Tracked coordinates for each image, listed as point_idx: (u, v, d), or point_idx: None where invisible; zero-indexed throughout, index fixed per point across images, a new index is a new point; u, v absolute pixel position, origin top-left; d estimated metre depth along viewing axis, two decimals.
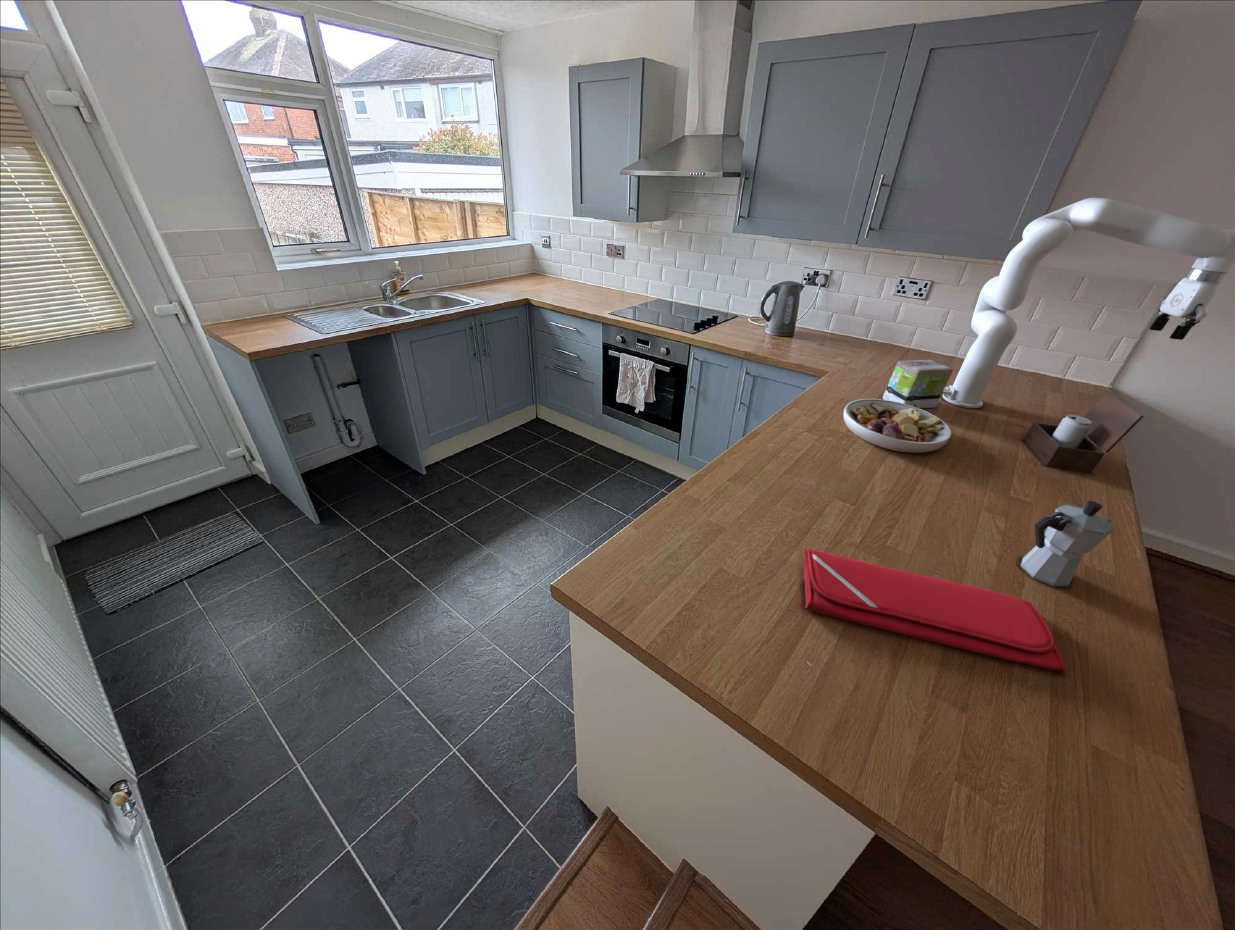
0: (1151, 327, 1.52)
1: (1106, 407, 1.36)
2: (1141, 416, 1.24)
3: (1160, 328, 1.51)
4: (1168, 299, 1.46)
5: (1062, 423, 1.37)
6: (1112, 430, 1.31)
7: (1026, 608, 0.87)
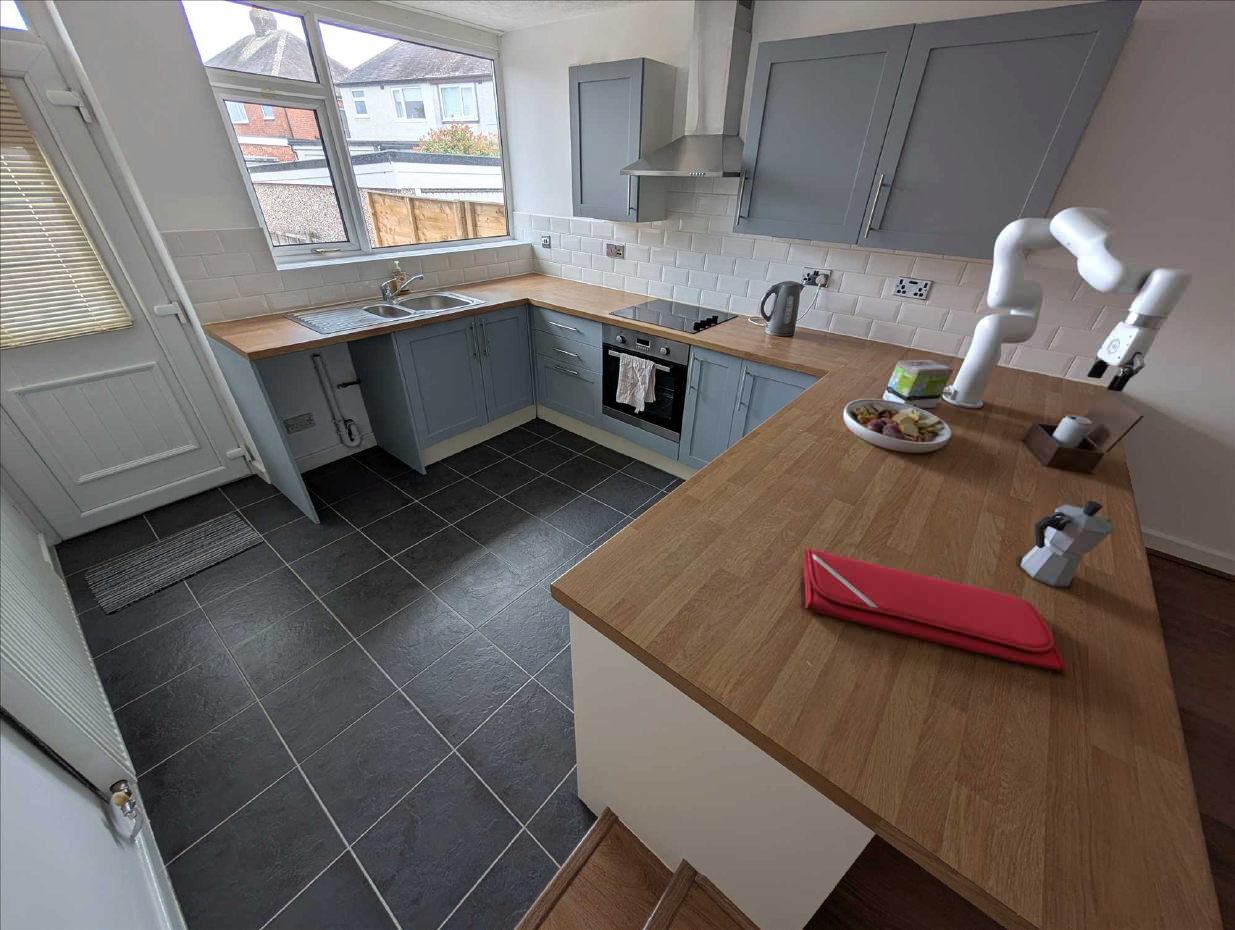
0: (1089, 374, 1.34)
1: (1106, 407, 1.36)
2: (1141, 416, 1.24)
3: (1099, 376, 1.33)
4: (1105, 344, 1.28)
5: (1062, 423, 1.37)
6: (1112, 430, 1.31)
7: (1026, 608, 0.87)
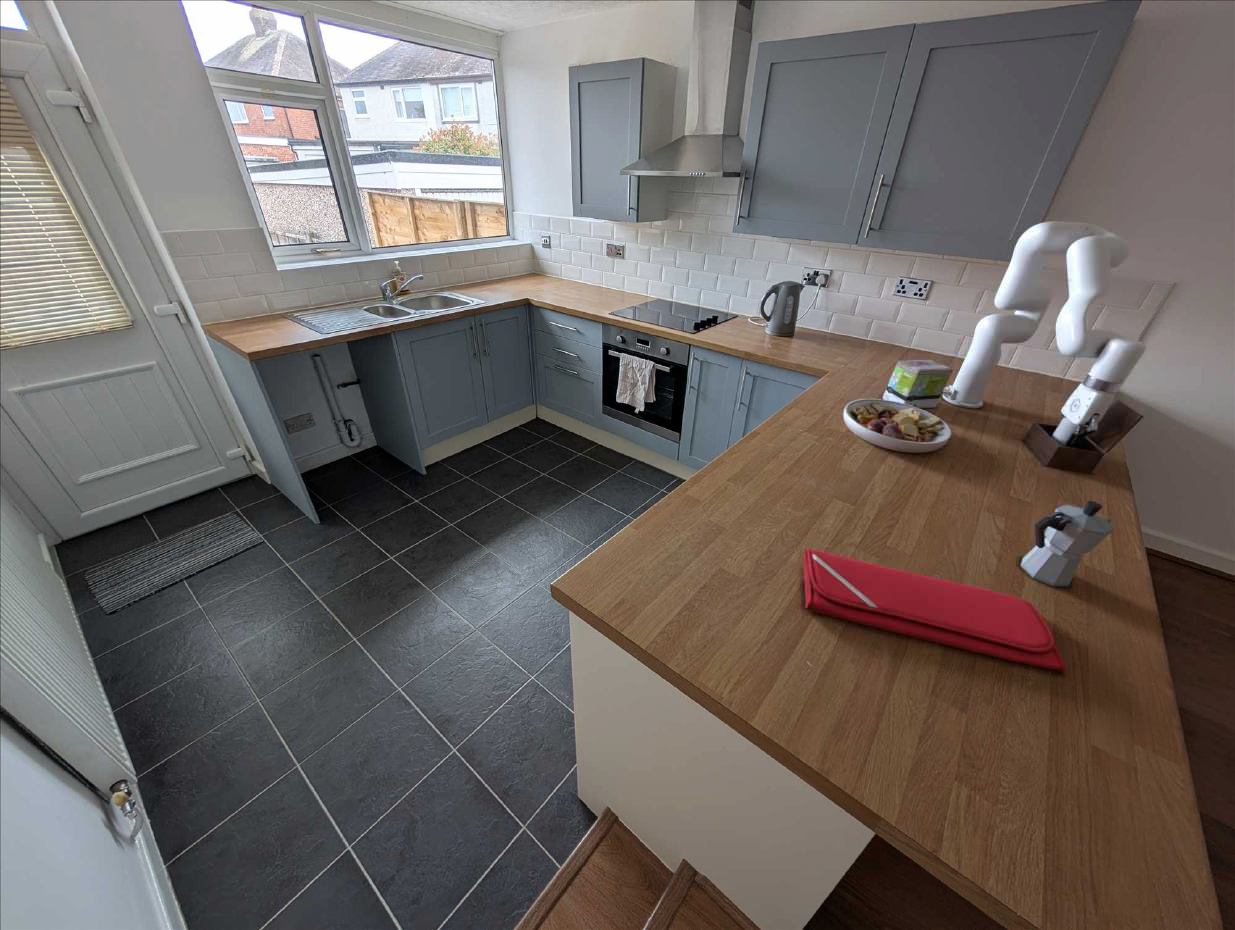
0: None
1: None
2: (1141, 416, 1.24)
3: None
4: (1068, 402, 1.37)
5: (1062, 423, 1.37)
6: (1112, 430, 1.31)
7: (1026, 608, 0.87)
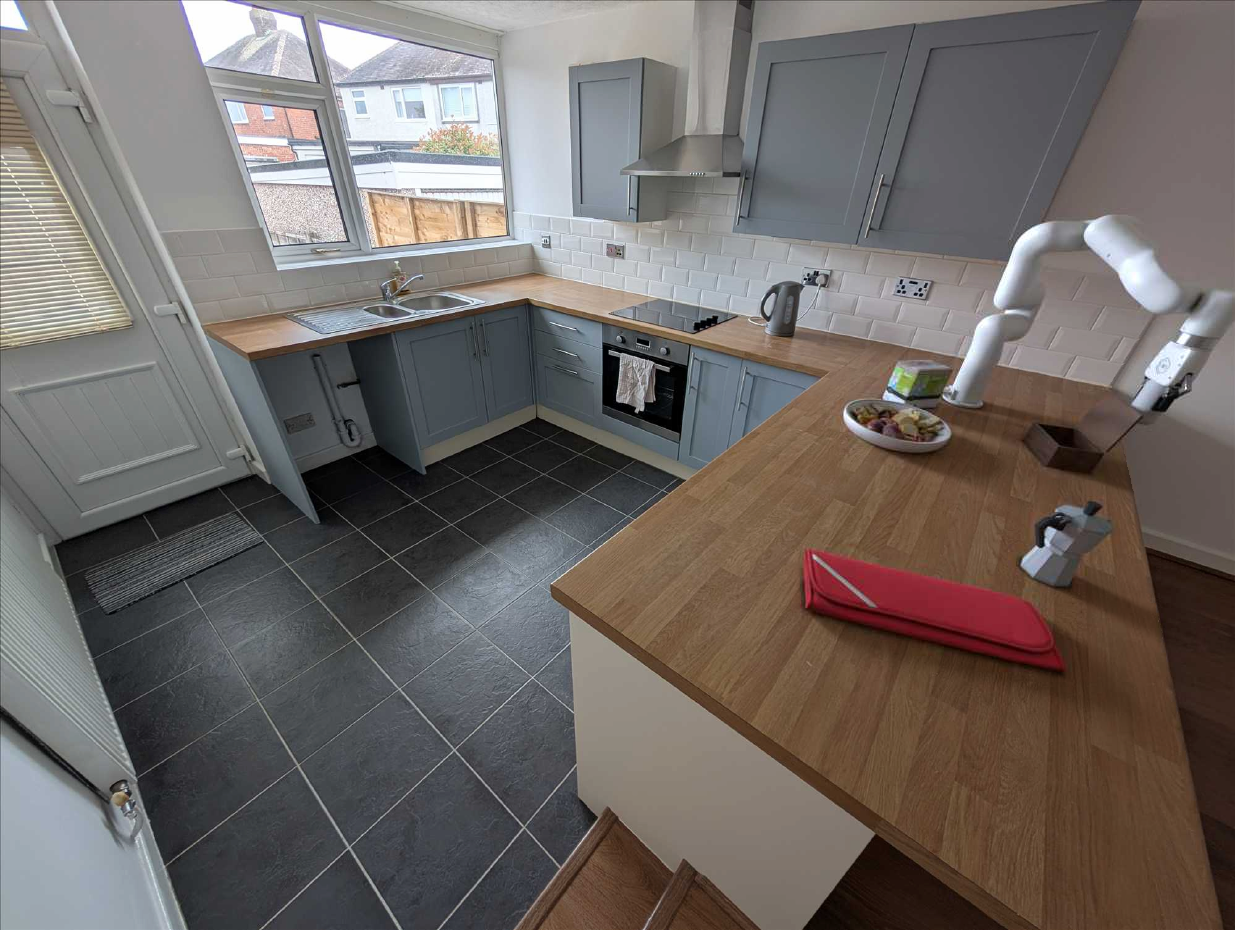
0: None
1: (1106, 407, 1.36)
2: (1141, 416, 1.24)
3: None
4: (1154, 363, 1.27)
5: (1147, 386, 1.27)
6: (1112, 430, 1.31)
7: (1026, 608, 0.87)
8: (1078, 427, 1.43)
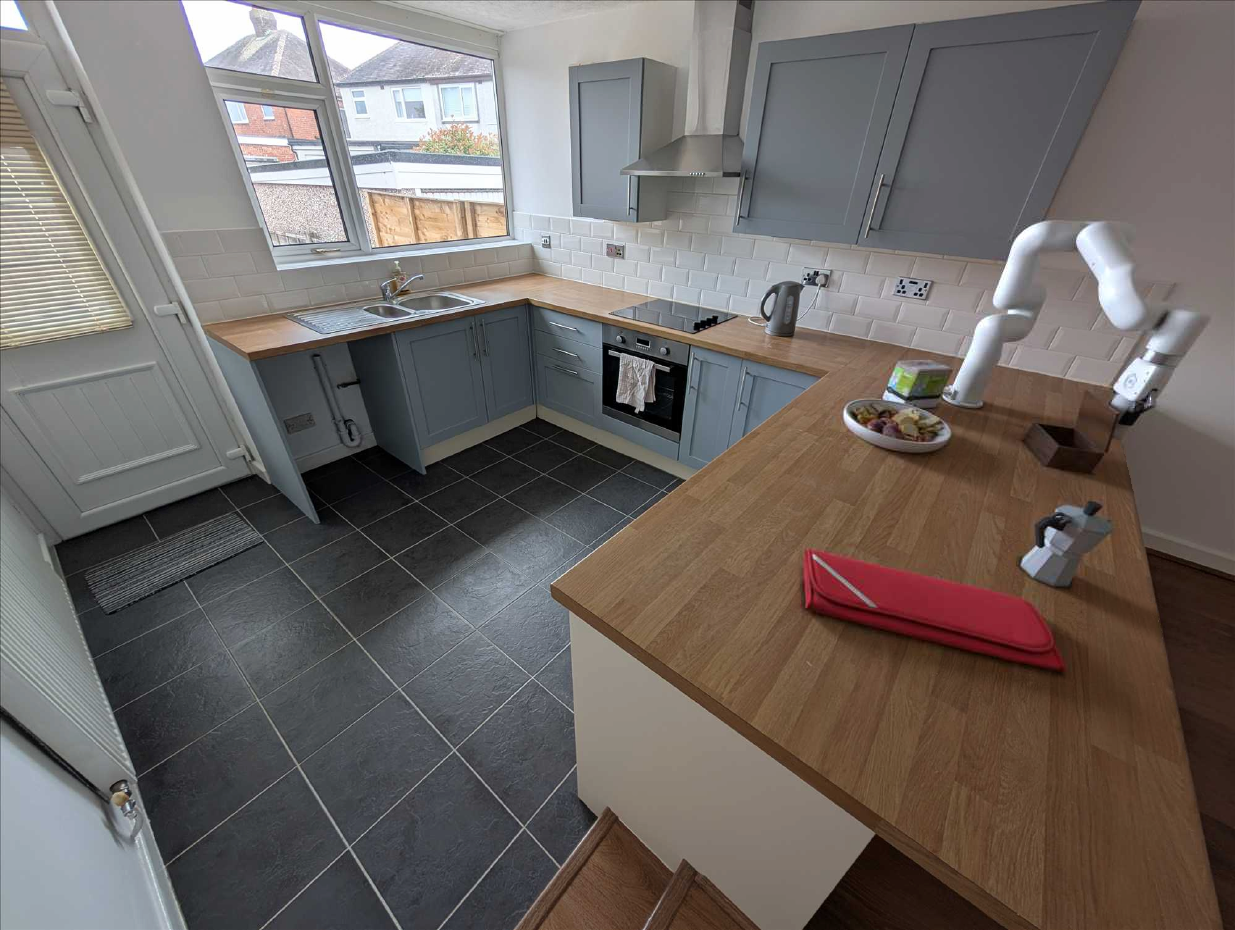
0: None
1: (1089, 406, 1.37)
2: (1117, 414, 1.26)
3: None
4: (1122, 378, 1.31)
5: (1115, 400, 1.31)
6: (1102, 429, 1.32)
7: (1026, 608, 0.87)
8: (1077, 427, 1.43)
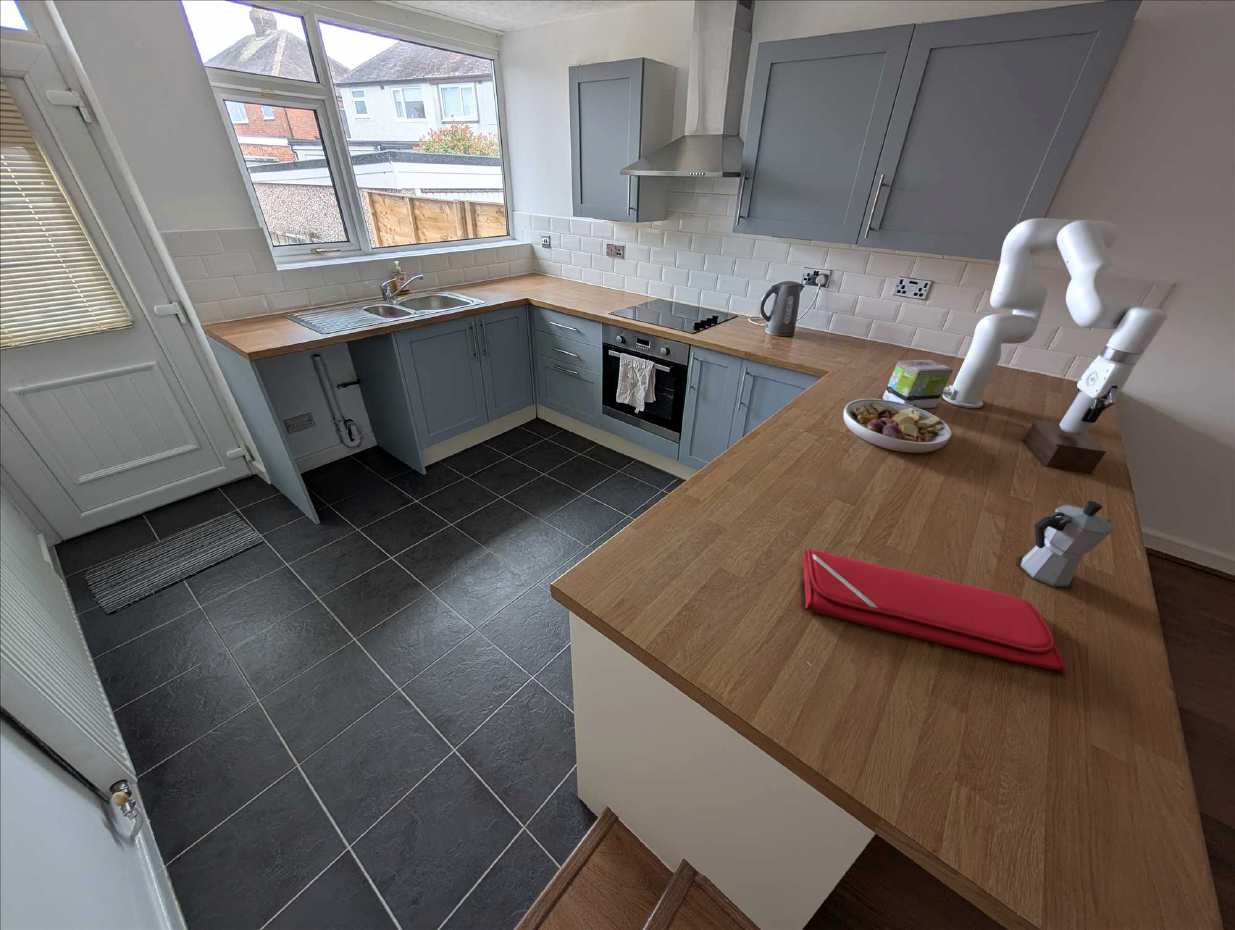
0: None
1: None
2: (1056, 445, 1.34)
3: None
4: (1084, 376, 1.33)
5: (1078, 398, 1.33)
6: None
7: (1026, 608, 0.87)
8: None
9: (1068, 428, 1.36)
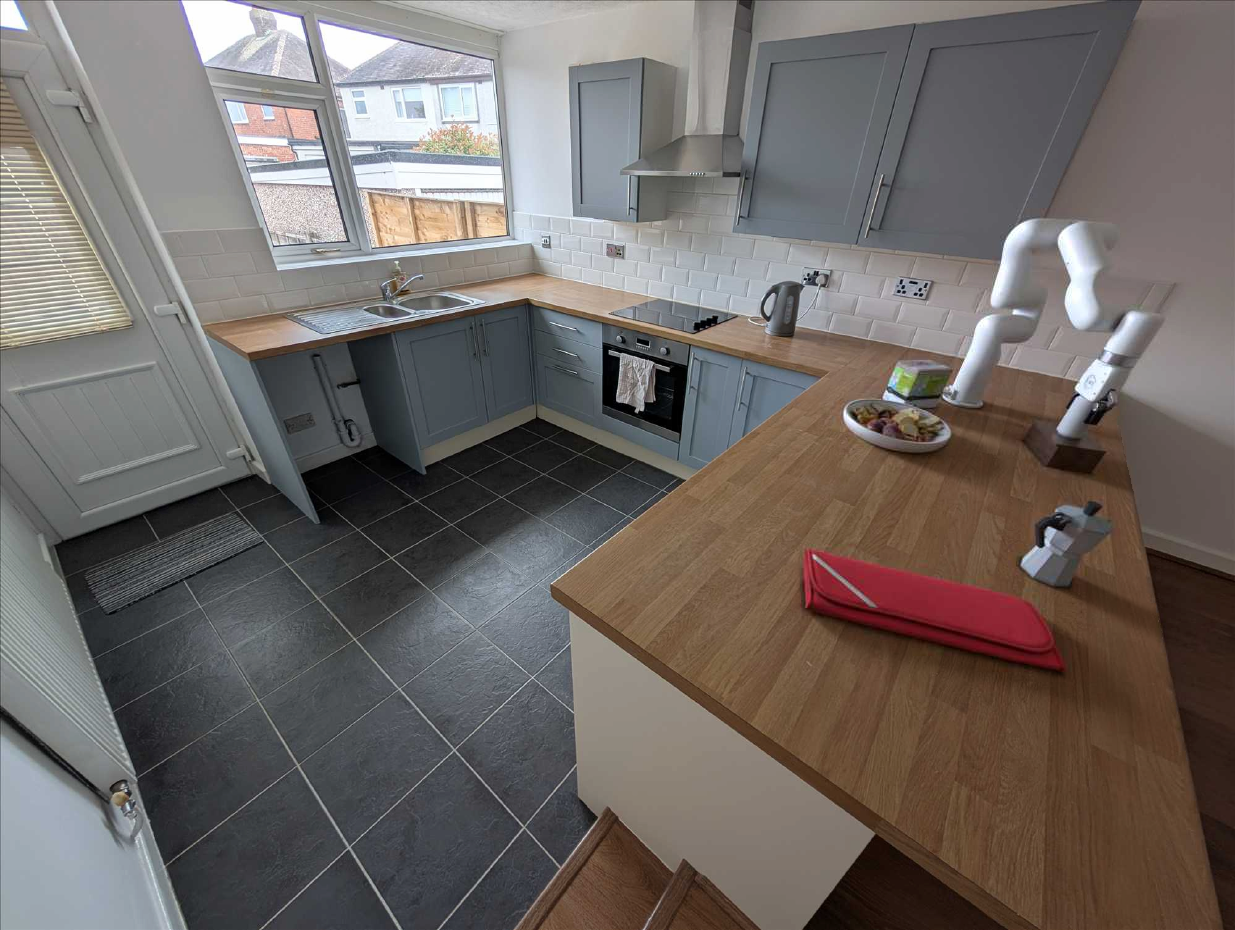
0: (1067, 406, 1.39)
1: None
2: (1056, 445, 1.34)
3: None
4: (1082, 379, 1.33)
5: (1075, 402, 1.34)
6: None
7: (1026, 608, 0.87)
8: None
9: (1066, 432, 1.37)
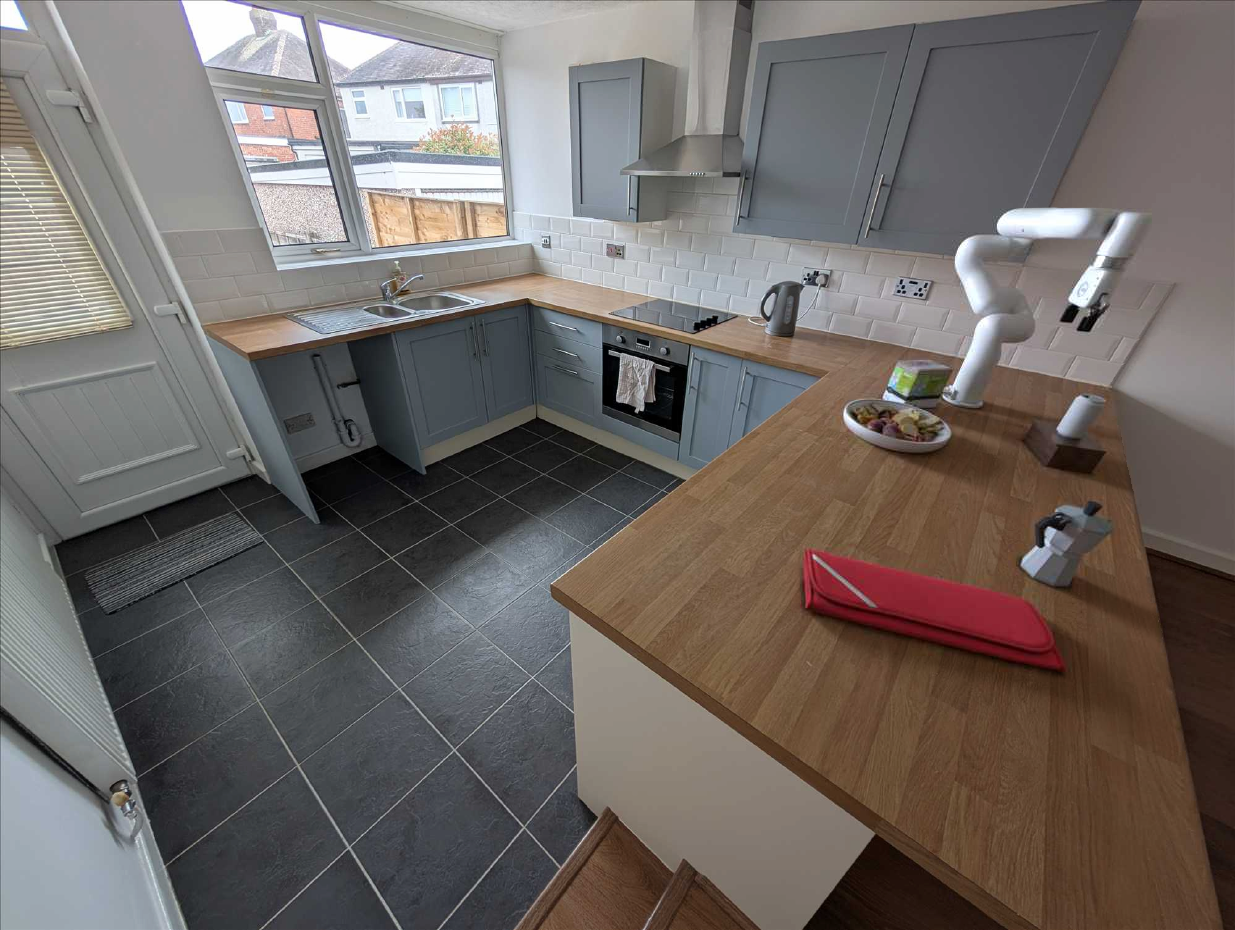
0: (1061, 319, 1.41)
1: None
2: (1056, 445, 1.34)
3: (1070, 320, 1.40)
4: (1076, 289, 1.35)
5: (1075, 402, 1.34)
6: None
7: (1026, 608, 0.87)
8: None
9: (1066, 432, 1.37)
